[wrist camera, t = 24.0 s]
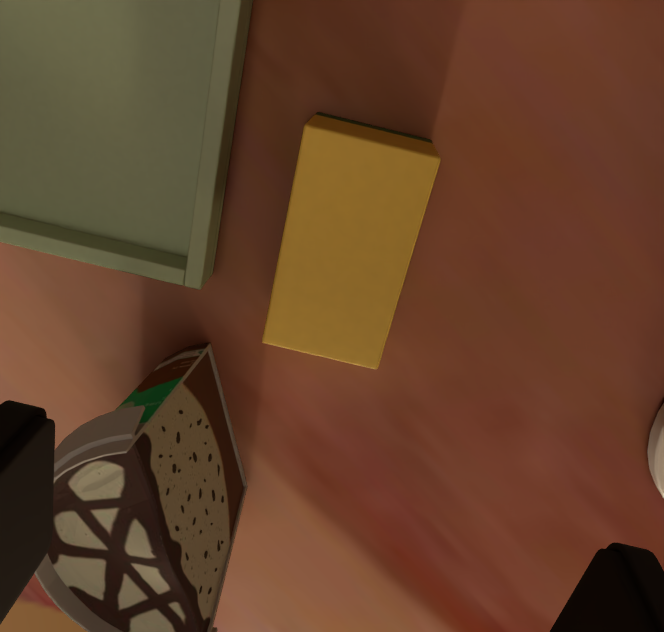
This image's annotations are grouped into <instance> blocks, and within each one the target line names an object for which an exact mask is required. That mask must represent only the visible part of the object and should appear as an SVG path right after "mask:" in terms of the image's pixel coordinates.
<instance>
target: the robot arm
mask: <svg viewBox="0 0 664 632" xmlns="http://www.w3.org/2000/svg"><path fill="white" fill-rule="evenodd" d="M54 449H55V423H54V421H53V420H51V419H47V416H46V412H45V410H44V409H43V408H40V407H36V406H32V405H27V404H23V403H19V402H15V401H10V400H9V401H5V402H4V403H2V404H1V405H0V624H1V623H2V621H3V619H4V618H5V617H6V615H7V613H8V612H9V610H10V609H11V607H12V606H13V604H14V603H15V601H16V600H17V598H18V597H19V595H20V594H21V592H22V591H23V589H24V588H25V586H26V585H27V583H28V582H29V580H30V579H31V577H32V576H33V574H34V573H35V571H36V570H37V568H38V567H39V565H40V564H41V562H42V561H43V559H44V557H45V556H46V554H47V552H48V550H49V547H50V544H51V540H52V534H53V493H54ZM647 452H648V461H649V470H650V472H651V475H652V477H653V480H654V482H655V485H656V487H657V488H658V490H659V491H660V493H661V495H662V496H663V498H664V403H663V405H662V407H661V408H660V410H659V411H658V413H657V416H656V418H655V421H654V423H653V426H652V429H651V431H650V437H649V444H648V451H647ZM550 632H664V571H663V569H662V567H661V565H660V563H659V562H658V560H657V558H656V557H655V555H654V554H653V553H652V552H651V551H649V550H646V549H642V548H638V547H633V546H629V545H625V544H620V543H612V544H610V545H609V546H608V547H607V548H606V549H600V550H598V552H597V553H596V554H595V556H594V558H593V559H592V561H591V563H590V564H589V566H588V568H587V570H586V571H585V573H584V575H583V576H582V578H581V580H580V581H579V583H578V585H577V586H576V588H575V590H574V591H573V593H572V595H571V597H570V598H569V600H568V602H567V603H566V605H565V607H564V608H563V610H562V612H561V613H560V615H559V617H558V618H557V620H556V622H555V624H554V625H553V627H552V629H551V630H550Z"/></svg>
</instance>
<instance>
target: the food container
mask: <svg viewBox="0 0 664 632" xmlns="http://www.w3.org/2000/svg"><path fill="white" fill-rule="evenodd" d="M247 487H248V486H247V482H246V479H245V475H244V471H243V467H242V463H241V459H240V455H239V451H238V448H237V444H236V440H235V436H234V432H233V428H232V424H231V421H230V417H229V413H228V409H227V405H226V401H225V397H224V394H223V390H222V386H221V382H220V378H219V374H218V370H217V367H216V363H215V359H214V355H213V351H212V347H211V343H206V344H200V345H194V346H189V347H187V348H185V349H183V350H181V351H179V352H177V353H175V354H173V355H171V356H169V357H167V358H165V359H164V360H163V361H162V362H161V363H160V364H159V365H158V366H157V367H156V369H155V370H154V371H153V372H152V373H151V374H150V375H149V376H148V377H147V378H146V379H145V380H144V381H143V382H142V383H141V384H140V385H139V386H138V387H137V388H136V389H135V390H134V391H133V392H132V393H131V394H130V395H129V396H128V398H127V399H126V400H125V401H124V402H123V403H122V404H121V405H120V406H119V407H118V408H117V409H116V410H115V411H113V412H110V413H107V414H104V415H101V416H98V417H96V418H95V419H93V420H91V421H89V422H87V423H85V424H83V425H81V426H80V427H78V428H77V429H76V430H75V431H73V432H72V433H71V434H70V435H68V436H67V437H66V438H65V439H64V440H63V441H62V442H61V443H60V445H59V446H58V447H57V448H56V449H55V451H54V493H53V534H52V540H51V544H50V547H49V550H48V552H47V554H46V556H45V557H44V559H43V561H42V562H41V564H40V565H39V567H38V568H37V570H36V571H35V575H36V577H37V579H38V580H39V582H40V584H41V585H42V587H43V589H44V590H45V592H46V593H47V594H48V595H49V597H50V598H51V599H52V600H53V602H54V603H55V604H56V605H57V606H58V607H59V608H60V609H61V610H62V611H63V612H64V613H65V614H66V615H67V616H68V617H69V618H70V619H71V620H73V621H74V622H76V623H77V624H78V625H79V626H81V627H82V628H83V629H85V630H86V631H88V632H217V631H218V630H217V628H214V627H213V624H214V620H215V616H216V612H217V608H218V604H219V600H220V596H221V592H222V588H223V584H224V580H225V576H226V572H227V567H228V563H229V559H230V555H231V551H232V547H233V543H234V539H235V535H236V531H237V527H238V523H239V519H240V515H241V511H242V507H243V503H244V499H245V495H246V491H247Z"/></svg>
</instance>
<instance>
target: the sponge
mask: <svg viewBox="0 0 664 632" xmlns="http://www.w3.org/2000/svg"><path fill="white" fill-rule="evenodd" d="M440 160H441V158H440V156H439V154H438V152H437V150H436V148H435V147H434V145H433V143H432V141H431V140H430V139H426V138H422V137H418V136H414V135H410V134H406V133H402V132H398V131H394V130H389V129H385V128H381V127H377V126H373V125H369V124H365V123H361V122H357V121H353V120H349V119H345V118H341V117H337V116H333V115H329V114H325V113H321V112H317V113H316V114H315V115H314V116H313V117H312V118H311V119H310V120H309V121H308V122H307V123H306V124H305V125H304V129H303V134H302V139H301V144H300V149H299V154H298V159H297V164H296V170H295V175H294V180H293V185H292V190H291V195H290V200H289V205H288V210H287V216H286V221H285V226H284V231H283V236H282V241H281V246H280V251H279V257H278V262H277V267H276V272H275V277H274V282H273V287H272V292H271V298H270V303H269V308H268V313H267V318H266V323H265V328H264V333H263V338H262V342H263V343H267V344H271V345H275V346H279V347H283V348H288V349H292V350H296V351H300V352H305V353H309V354H313V355H317V356H322V357H326V358H330V359H334V360H338V361H343V362H347V363H351V364H355V365H360V366H364V367H368V368H372V369H377V368H378V366H379V363H380V359H381V356H382V353H383V349H384V346H385V343H386V339H387V336H388V333H389V330H390V326H391V323H392V320H393V316H394V313H395V310H396V306H397V303H398V300H399V296H400V293H401V290H402V286H403V283H404V280H405V276H406V273H407V270H408V267H409V263H410V260H411V257H412V253H413V250H414V247H415V243H416V240H417V237H418V233H419V230H420V227H421V223H422V220H423V217H424V213H425V210H426V207H427V204H428V200H429V197H430V194H431V190H432V187H433V184H434V180H435V177H436V174H437V170H438V167H439V164H440Z"/></svg>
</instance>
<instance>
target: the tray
mask: <svg viewBox="0 0 664 632" xmlns="http://www.w3.org/2000/svg"><path fill="white" fill-rule="evenodd" d="M252 4H253V0H0V242H3V243H8V244H12V245H16V246H20V247H24V248H28V249H33V250H37V251H41V252H45V253H49V254H53V255H57V256H62V257H66V258H70V259H74V260H78V261H82V262H87V263H91V264H95V265H99V266H103V267H107V268H111V269H116V270H120V271H124V272H128V273H132V274H136V275H140V276H145V277H149V278H153V279H157V280H161V281H165V282H170V283H174V284H178V285H184V286H186V287H191V288H195V289H201V288H202V287H203V285H204V284H205V283H206V281H207V280H208V279H209V278H210V276H211V275H212V274H213V268H214V261H215V255H216V248H217V241H218V234H219V228H220V221H221V214H222V207H223V200H224V194H225V187H226V180H227V173H228V167H229V160H230V153H231V146H232V139H233V133H234V126H235V119H236V112H237V106H238V99H239V92H240V85H241V78H242V72H243V65H244V58H245V51H246V45H247V38H248V31H249V24H250V17H251V11H252Z"/></svg>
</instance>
